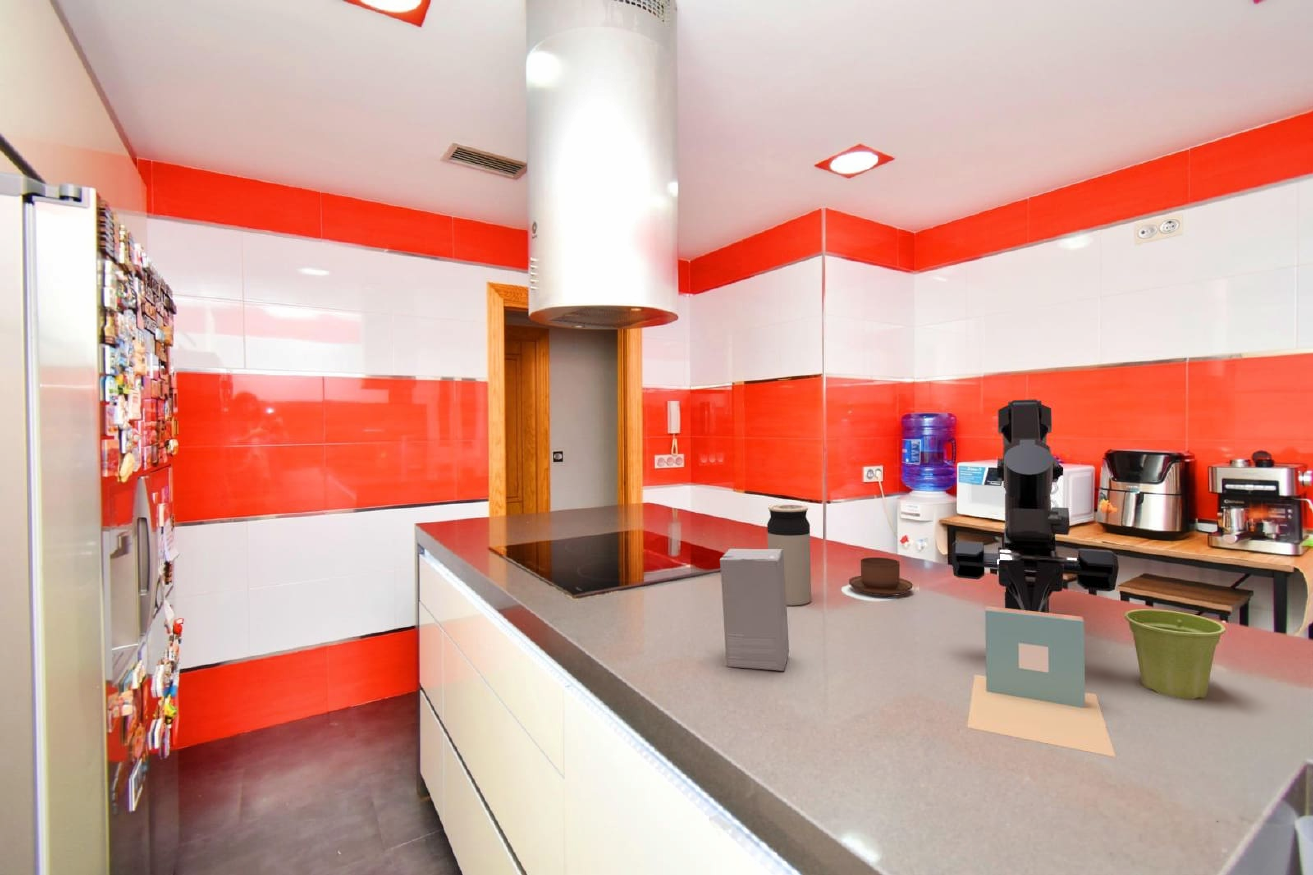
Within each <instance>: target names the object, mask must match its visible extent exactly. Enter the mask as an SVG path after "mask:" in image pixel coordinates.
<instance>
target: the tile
mask: <svg viewBox="0 0 1313 875" xmlns="http://www.w3.org/2000/svg"><path fill="white" fill-rule="evenodd" d="M984 608H985V609H984V610H985V611H984V612H985V613H984V616H985V618H984V619H985V620H984V621H985V623H984V624H985V625H984V626H985V627H984V629H985V676H986V691H988V692H994V693H999V694H1005V695H1011V696H1017V697H1023V698H1029V699H1034V700H1040V701H1046V702H1052V703H1058V704H1063V705H1069V706H1075V707H1081V708H1085V693H1086V692H1085V691H1086V686H1085V685H1086V684H1085V683H1086V682H1085V680H1086V677H1085V676H1086V674H1085V669H1086V668H1085V667H1086V666H1085V621H1084V617H1083V616H1079V615H1078V616H1077V615H1069V614H1060V613H1052V612H1049V613H1044V612H1035V611H1026V610H1017V609H1008V608H1005V607H1000V606H999V607H998V606H997V607H996V606H989V605H986V606H985V607H984Z"/></svg>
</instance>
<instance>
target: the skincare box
mask: <svg viewBox="0 0 1313 875" xmlns="http://www.w3.org/2000/svg"><path fill="white" fill-rule="evenodd" d="M719 564H720V581H721V593H722V596H721V597H722V608H723V609H722V612H723V628H724V629H723V630H724V631H723V632H724V648H725V659H726V663H725V664H726V667H729V668H740V669H741V668H742V669H743V668H744V669H753V670H754V669H758V670H771V671H782V672H783V671H784V670H785V667H786V664H787V660H788V657H789V653H790V643H789V641H790V640H789V627H788V626H789V625H788V609H787V606H786V589H785V573H784V557H783V549H768V548H765V549H763V548H762V549H761V548H752V549H751V548H729V549H728V550H727V551H726V552H725V553H724V554H723V555H722V557H720V559H719Z"/></svg>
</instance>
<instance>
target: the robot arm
mask: <svg viewBox="0 0 1313 875" xmlns="http://www.w3.org/2000/svg"><path fill="white" fill-rule="evenodd" d="M1007 403H1008V404H1007V405H1005V406H1003V407H1002V408H999V409H997V432H998V434H999V435H1000V434H1001V435H1002V446H1003V451H1002V458H997V465H996V466H997V467H996V474H997V482H1003V488H1004V490H1005V493H1004V494H1005V495H1004V516H1005V517H1004V529H1003V530H1004V531H1003V534H1002V546H997V553H994V552H993V553H992V552H985V548H984V546H985V545H984V544H985V543H984V542H983V541H973V540H971V541H969V540H958V539H957V540H955V541H954V542H953V543H952V544H951V550H950V551H951V552H950V556H951V566H952V574H953V576H955V577H956V578H958V579H969V580H979V579H981V578H983V577H984V576H985V572H986V571H985V570H986V569H996V570H997V573H998V584H999V586H1001V587H1005V592H1004V608H1008V609H1017V610H1026V611H1035V612H1044V613H1050V597H1051V595H1052V593H1053V592H1056V593H1057V592H1062V591H1063V583H1064V574H1065V575H1076V579H1077V580H1076V581H1077V585H1079V587H1081V588H1082V589H1084V590H1088V591H1090V590H1091V591H1097V592H1099V591H1100V592H1107V593H1108V592H1113V591H1115V590H1116V584H1117V581H1118V580H1117V579H1118V575H1119V574H1118V573H1119V568H1120V566H1119V560H1118V556H1117V555H1116V554H1115V553H1114V552H1113V551H1112V550H1108V549H1093V548H1082V547H1081V548H1078V554H1077V558H1076V557H1074V558H1073V557H1061V556H1059V554H1058V551H1057V549H1056V548H1057V543H1056V535H1061V536H1063V535H1064V536H1068V535H1070V530H1071V527H1070V513H1069V512H1070V511H1069V508H1068V507H1054V506H1053V507H1052V499H1051V498H1052V497H1051V496H1052V495H1051V493H1052V490H1053V483H1058V481H1059V478H1060V477H1062V476H1064V467H1063V466H1062V465H1061V464H1060V462H1058V459H1057V458H1054V455H1053V454H1052V451H1051V446H1050V445H1048V444H1047V438H1048V434H1051V433H1052V429H1053V426H1052V425H1053V423H1052V422H1053V420H1052V419H1053V418H1052V416H1053V415H1052V413H1053V412H1052V408H1051V407H1049V406H1048V405H1047V406H1046V405H1044V404H1042V400H1038V399H1036V398H1035V399H1013V400H1011V401H1007Z"/></svg>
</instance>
